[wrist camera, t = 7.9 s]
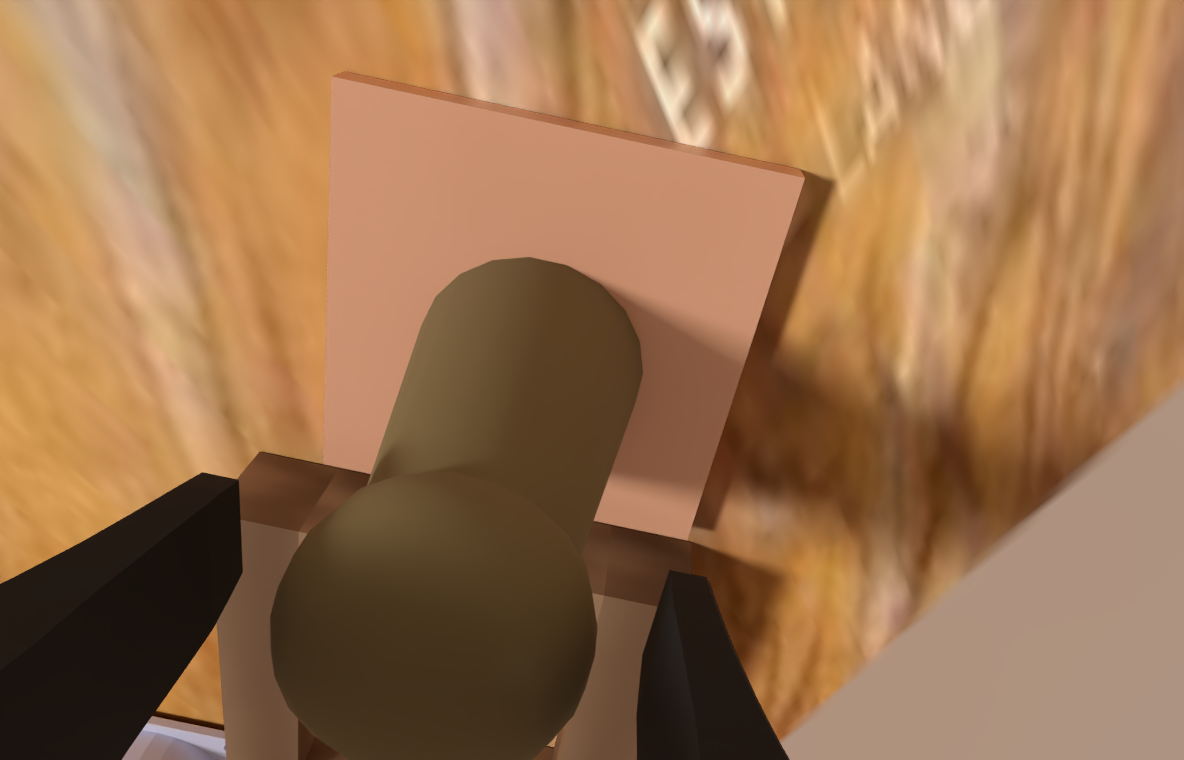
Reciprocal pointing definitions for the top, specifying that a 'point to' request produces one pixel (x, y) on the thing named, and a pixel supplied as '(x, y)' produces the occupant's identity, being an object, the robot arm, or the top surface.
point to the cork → (468, 531)
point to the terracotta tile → (557, 234)
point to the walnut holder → (312, 491)
